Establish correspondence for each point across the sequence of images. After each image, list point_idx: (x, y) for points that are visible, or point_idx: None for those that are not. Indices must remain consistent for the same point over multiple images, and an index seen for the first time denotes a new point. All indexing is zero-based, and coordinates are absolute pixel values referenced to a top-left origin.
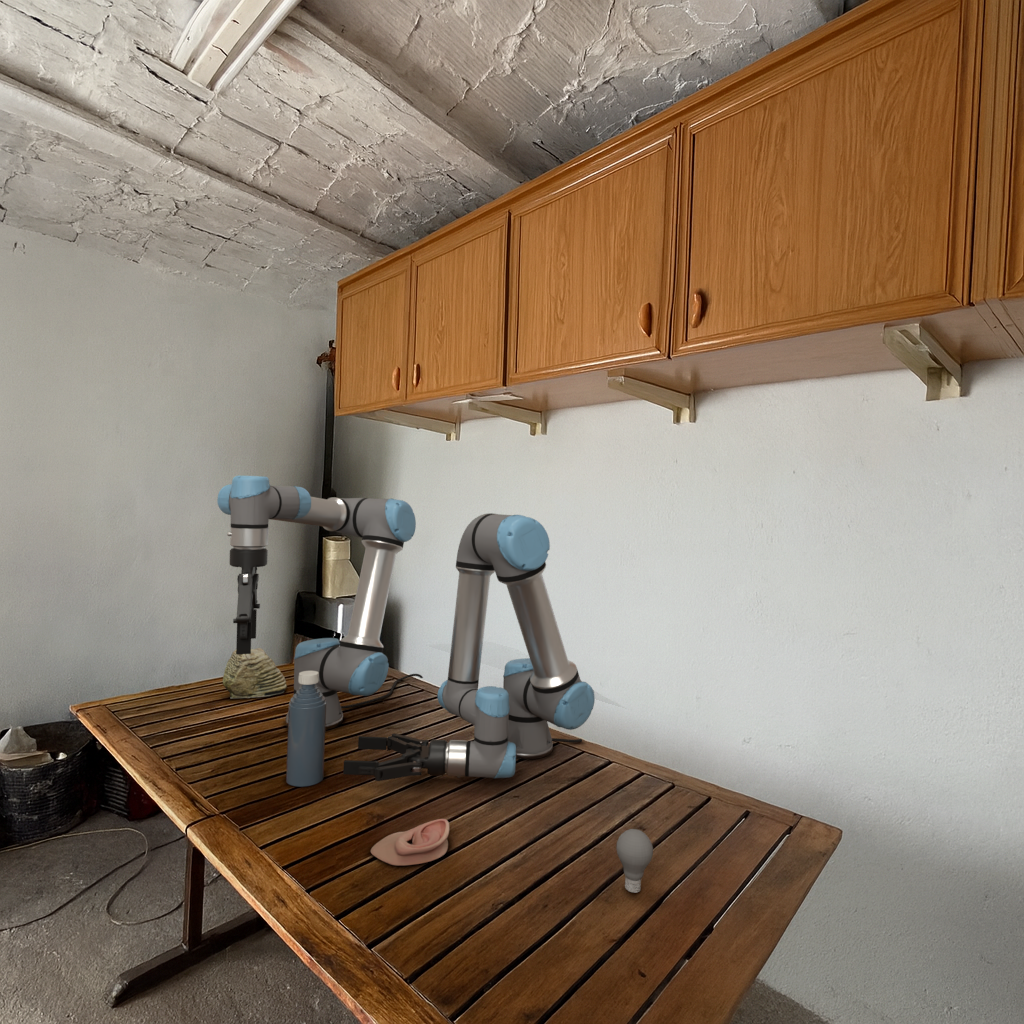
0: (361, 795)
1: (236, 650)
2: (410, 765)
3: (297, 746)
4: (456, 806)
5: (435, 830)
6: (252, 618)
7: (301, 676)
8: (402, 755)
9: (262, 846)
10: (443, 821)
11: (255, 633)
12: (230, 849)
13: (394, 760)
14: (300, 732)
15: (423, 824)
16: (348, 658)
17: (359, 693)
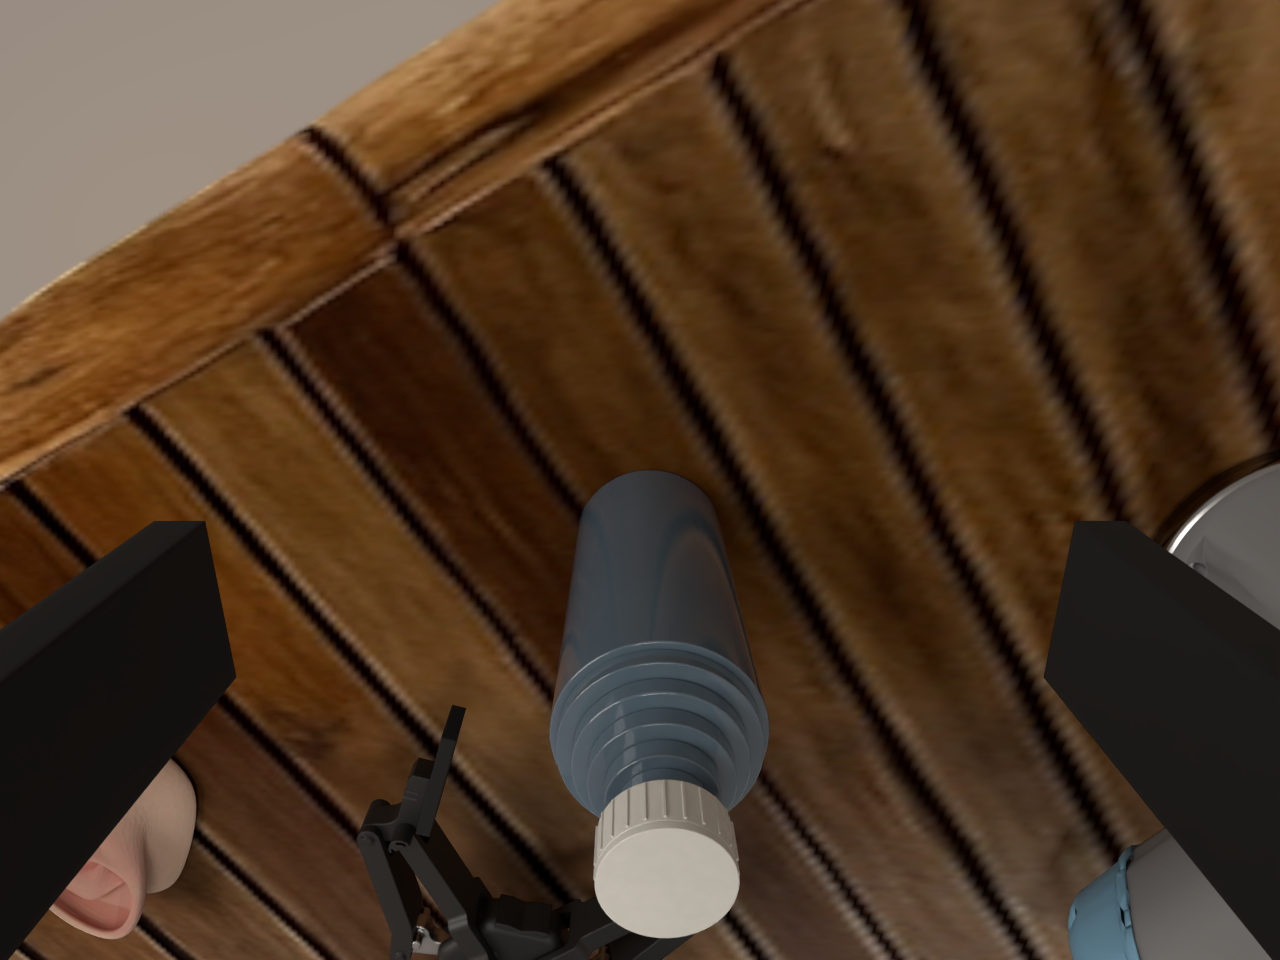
0: (472, 709)
1: (119, 546)
2: (391, 930)
3: (575, 582)
4: (358, 936)
5: (118, 891)
6: (1258, 867)
7: (619, 835)
8: (463, 923)
9: (141, 414)
10: (120, 927)
11: (1083, 717)
12: (124, 311)
13: (436, 892)
14: (565, 628)
15: (128, 875)
16: None
17: (1081, 890)
